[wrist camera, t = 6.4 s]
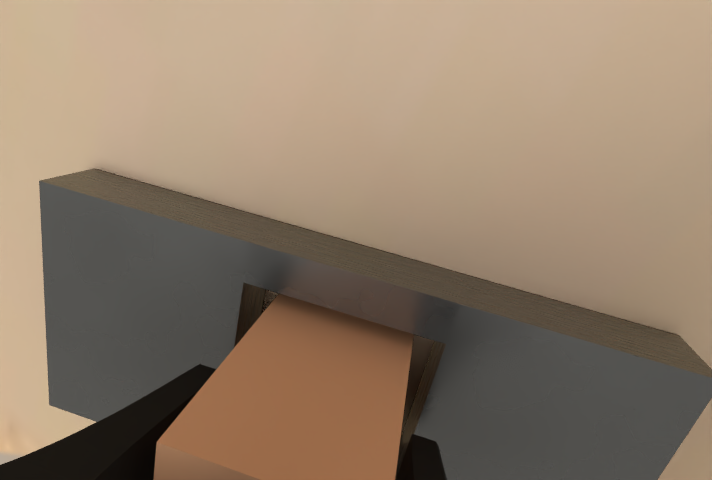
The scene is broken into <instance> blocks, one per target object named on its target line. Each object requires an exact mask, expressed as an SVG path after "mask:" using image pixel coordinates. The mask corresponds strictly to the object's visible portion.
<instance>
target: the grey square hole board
mask: <svg viewBox="0 0 712 480" xmlns="http://www.w3.org/2000/svg"><path fill="white" fill-rule="evenodd" d="M39 186H40V208H41V230H42V252H43V274H44V297H45V319H46V341H47V363H48V385H49V405H51V406H54V407H57V408H59V409H62V410H65V411H68V412H71V413H74V414H76V415H79V416H82V417H85V418H88V419H91V420H93V421H96V422H98V421H100V420H102V419H104V418H106V417H108V416H110V415H112V414H114V413H116V412H117V411H119V410H121V409H123V408H125V407H126V406H128V405H130V404H132V403H134V402H135V401H137V400H139V399H141V398H142V397H144V396H146V395H148V394H149V393H151V392H153V391H155V390H156V389H158V388H160V387H161V386H163V385H165V384H166V383H168V382H170V381H171V380H173V379H175V378H176V377H178V376H180V375H181V374H183V373H185V372H186V371H188V370H190V369H191V368H193V367H195V366H197V365H199V364H202V365H205V366H208V367H211V368H214V369H217V368H218V367H219V366H220V364H221V363H222V362H223V361H224V360H225V358H226V357H227V356H228V355H229V354H230V352H231V351H232V350H233V349H234V347H235V346H236V345H237V344H238V343H239V341H240V340H241V339H242V338H243V337H244V335H245V334H246V333H247V332H248V330H249V329H250V328H251V327H252V326H253V324H254V323H255V322H256V321H257V320H258V318H259V317H260V316H261V313H262V307H263V301H264V295H265V289H266V290H270V291H273V292H276V293H280V294H283V295H286V296H289V297H293V298H296V299H299V300H303V301H306V302H309V303H312V304H316V305H319V306H322V307H326V308H329V309H332V310H335V311H339V312H342V313H345V314H349V315H352V316H355V317H359V318H362V319H365V320H368V321H372V322H375V323H378V324H382V325H385V326H388V327H391V328H395V329H398V330H401V331H405V332H408V333H411V334H414V335H418V336H421V337H424V338H428V339H431V340H434V344H433V347H432V350H431V353H430V355H429V358H428V361H427V364H426V367H425V370H424V373H423V376H422V379H421V381H420V384H419V387H418V390H417V393H416V396H415V399H414V402H413V405H412V407H411V410H410V413H409V416H408V419H407V422H406V425H405V428H404V431H403V434H402V436H401V439H400V445H399V453H398V461H397V468H396V476H395V480H396V477H397V474H398V472H399V469H400V466H401V463H402V460H403V458H404V455H405V452H406V449H407V446H408V443H409V441H410V438H411V435H412V434H415V435H418V436H421V437H424V438H427V439H430V440H433V441H436V442H437V444H438V446H439V449H440V454H441V458H442V462H443V466H444V470H445V474H446V478H447V480H657V479H658V478H659V476H660V475H661V473H662V472H663V470H664V469H665V467H666V466H667V464H668V463H669V461H670V460H671V458H672V457H673V455H674V454H675V452H676V451H677V449H678V448H679V446H680V445H681V443H682V442H683V440H684V439H685V437H686V436H687V434H688V433H689V431H690V430H691V428H692V427H693V425H694V424H695V422H696V421H697V419H698V418H699V416H700V415H701V413H702V412H703V410H704V409H705V407H706V406H707V404H708V402H709V401H710V399H711V398H712V369H711V368H710V367H709V366H708V365H707V364H706V363H705V362H704V361H703V360H702V359H701V358H700V357H699V356H698V355H697V354H696V353H695V352H694V351H693V350H692V348H691V347H690V346H689V345H688V344H687V343H686V342H685V341H684V340H683V339H682V338H681V337H680V336H678V335H675V334H671V333H668V332H664V331H661V330H657V329H654V328H650V327H647V326H643V325H640V324H636V323H633V322H629V321H626V320H622V319H619V318H615V317H612V316H608V315H605V314H601V313H598V312H594V311H591V310H587V309H584V308H580V307H577V306H573V305H570V304H566V303H563V302H559V301H556V300H552V299H549V298H545V297H542V296H538V295H535V294H531V293H528V292H524V291H521V290H517V289H514V288H510V287H507V286H503V285H500V284H496V283H493V282H489V281H486V280H482V279H479V278H475V277H472V276H468V275H465V274H461V273H458V272H454V271H451V270H447V269H444V268H440V267H437V266H433V265H430V264H426V263H423V262H419V261H416V260H412V259H409V258H405V257H402V256H398V255H395V254H391V253H388V252H384V251H381V250H377V249H374V248H370V247H367V246H363V245H360V244H356V243H353V242H349V241H346V240H342V239H339V238H335V237H332V236H328V235H325V234H321V233H318V232H314V231H311V230H307V229H304V228H300V227H297V226H293V225H290V224H286V223H283V222H279V221H276V220H272V219H269V218H265V217H262V216H258V215H255V214H251V213H248V212H244V211H241V210H237V209H234V208H230V207H227V206H223V205H220V204H216V203H213V202H209V201H206V200H202V199H199V198H195V197H192V196H188V195H185V194H181V193H178V192H174V191H171V190H167V189H164V188H160V187H157V186H153V185H150V184H146V183H143V182H139V181H136V180H132V179H129V178H125V177H122V176H118V175H115V174H111V173H108V172H104V171H101V170H97V169H90V170H86V171H81V172H77V173H72V174H68V175H63V176H59V177H54V178H50V179H45V180H41V181H39Z"/></svg>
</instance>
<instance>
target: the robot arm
mask: <svg viewBox="0 0 712 480" xmlns="http://www.w3.org/2000/svg"><path fill="white" fill-rule="evenodd" d="M215 371H216V369H214V368H211V367H208V366H205V365H202V364H199V365H197V366H195V367H193V368H191V369H190V370H188V371H186V372H185V373H183V374H181V375H180V376H178V377H176V378H175V379H173V380H171V381H170V382H168V383H166V384H165V385H163V386H161V387H160V388H158V389H156V390H155V391H153V392H151V393H149V394H148V395H146V396H144V397H142V398H141V399H139V400H137V401H135V402H134V403H132V404H130V405H128V406H126V407H125V408H123V409H121V410H119V411H117V412H116V413H114V414H112V415H110V416H108V417H106V418H104V419H102V420H100V421H98V422H96V423H94V424H92V425H90V426H88V427H86V428H84V429H83V430H81V431H78V432H76V433H74V434H72V435H70V436H68V437H66V438H64V439H62V440H59V441H57V442H55V443H53V444H51V445H48V446H46V447H44V448H41V449H39V450H37V451H35V452H32V453H30V454H28V455H25V456H23V457H20V458H18V459H15V460H13V461H10V462H7V463H5V464H2V465H0V480H153V479H154V467H155V456H156V444H157V441H158V440H159V439H160V437H161V436H162V435H163V434H164V433H165V431H166V430H167V429H168V428H169V426H170V425H171V424H172V423H173V422H174V420H175V419H176V418H177V417H178V416H179V414H180V413H181V412H182V411H183V409H184V408H185V407H186V406H187V405H188V403H189V402H190V401H191V400H192V399H193V397H194V396H195V395H196V394H197V392H198V391H199V390H200V389H201V388H202V386H203V385H204V384H205V383H206V382H207V380H208V379H209V378H210V377H211V375H212V374H213V373H214V372H215ZM396 480H447V478H446V474H445V470H444V466H443V462H442V458H441V454H440V449H439V446H438V444H437V442H436V441H433V440H430V439H427V438H424V437H421V436H418V435H415V434H412V435H411V438H410V441H409V443H408V446H407V449H406V452H405V455H404V458H403V460H402V463H401V466H400V469H399V472H398V474H397V477H396Z"/></svg>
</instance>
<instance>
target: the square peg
mask: <svg viewBox="0 0 712 480" xmlns="http://www.w3.org/2000/svg"><path fill="white" fill-rule="evenodd" d="M413 337H414V334H411V333H408V332H405V331H401V330H398V329H395V328H391V327H388V326H385V325H382V324H378V323H375V322H372V321H368V320H365V319H362V318H359V317H355V316H352V315H349V314H345V313H342V312H339V311H335V310H332V309H329V308H326V307H322V306H319V305H316V304H312V303H309V302H306V301H303V300H299V299H296V298H293V297H289V296H286V295H283V294H280V293H279V294H278V295H277V296H276V298H275V299H274V300H273V301H272V303H271V304H270V305H269V306H268V307H267V309H266V310H265V311H264V312H263V313H262V315H261V316H260V317H259V318H258V320H257V321H256V322H255V323H254V324H253V326H252V327H251V328H250V329H249V330H248V332H247V333H246V334H245V335H244V337H243V338H242V339H241V340H240V341H239V343H238V344H237V345H236V346H235V347H234V349H233V350H232V351H231V352H230V354H229V355H228V356H227V357H226V358H225V360H224V361H223V362H222V363H221V364H220V366H219V367H218V368H217V369H216V371H215V372H214V373H213V374H212V375H211V377H210V378H209V379H208V380H207V382H206V383H205V384H204V385H203V386H202V388H201V389H200V390H199V391H198V392H197V394H196V395H195V396H194V397H193V399H192V400H191V401H190V402H189V403H188V405H187V406H186V407H185V408H184V409H183V411H182V412H181V413H180V414H179V416H178V417H177V418H176V419H175V420H174V422H173V423H172V424H171V425H170V426H169V428H168V429H167V430H166V431H165V433H164V434H163V435H162V436H161V437H160V439H159V440H158V441H157V444H156V456H155V467H154V479H153V480H395V476H396V468H397V461H398V453H399V445H400V437H401V430H402V422H403V414H404V406H405V399H406V391H407V383H408V375H409V368H410V360H411V352H412V344H413Z"/></svg>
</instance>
